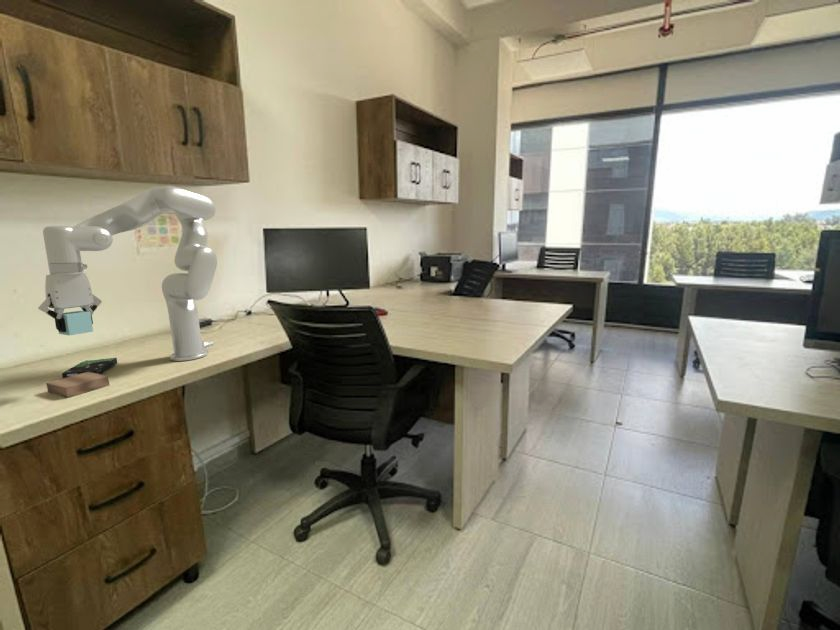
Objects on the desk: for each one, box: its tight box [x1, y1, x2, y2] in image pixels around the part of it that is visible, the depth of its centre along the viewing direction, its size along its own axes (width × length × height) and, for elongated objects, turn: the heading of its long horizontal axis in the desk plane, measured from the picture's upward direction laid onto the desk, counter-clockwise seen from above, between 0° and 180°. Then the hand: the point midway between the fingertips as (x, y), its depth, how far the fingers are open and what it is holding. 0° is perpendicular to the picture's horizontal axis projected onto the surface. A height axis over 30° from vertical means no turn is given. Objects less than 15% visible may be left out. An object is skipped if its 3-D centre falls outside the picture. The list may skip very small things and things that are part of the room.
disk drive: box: [61, 357, 118, 379], centre depth 143 cm, size 10×3×15 cm
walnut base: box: [46, 372, 110, 399], centre depth 126 cm, size 11×11×3 cm
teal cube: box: [58, 310, 94, 336], centre depth 124 cm, size 6×6×6 cm
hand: (75, 328), depth 124 cm, fingers closed on teal cube, 6 cm apart
